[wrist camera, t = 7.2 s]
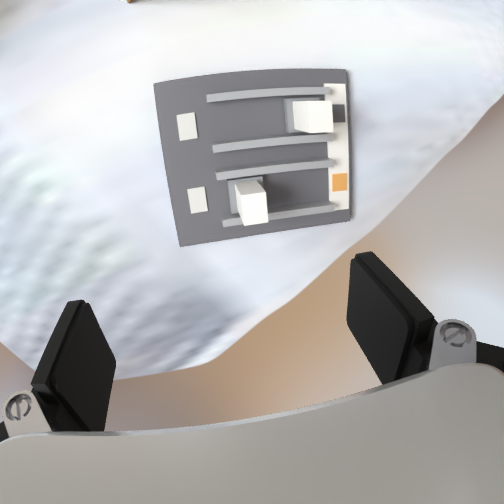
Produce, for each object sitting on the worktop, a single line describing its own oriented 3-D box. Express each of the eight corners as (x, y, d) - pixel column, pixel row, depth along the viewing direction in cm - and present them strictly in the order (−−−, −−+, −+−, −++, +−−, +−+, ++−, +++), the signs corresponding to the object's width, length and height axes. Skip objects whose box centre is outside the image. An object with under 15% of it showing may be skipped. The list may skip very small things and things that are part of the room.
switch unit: (341, 70, 27) (352, 68, 25) (346, 217, 34) (355, 225, 32) (154, 84, 25) (151, 82, 23) (180, 242, 32) (179, 253, 30)
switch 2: (316, 97, 27) (338, 96, 23) (318, 130, 28) (340, 135, 24) (283, 98, 27) (300, 97, 22) (286, 132, 28) (303, 137, 24)
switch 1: (260, 174, 30) (272, 187, 25) (263, 206, 31) (275, 224, 27) (226, 178, 29) (232, 192, 25) (230, 211, 31) (237, 230, 26)
